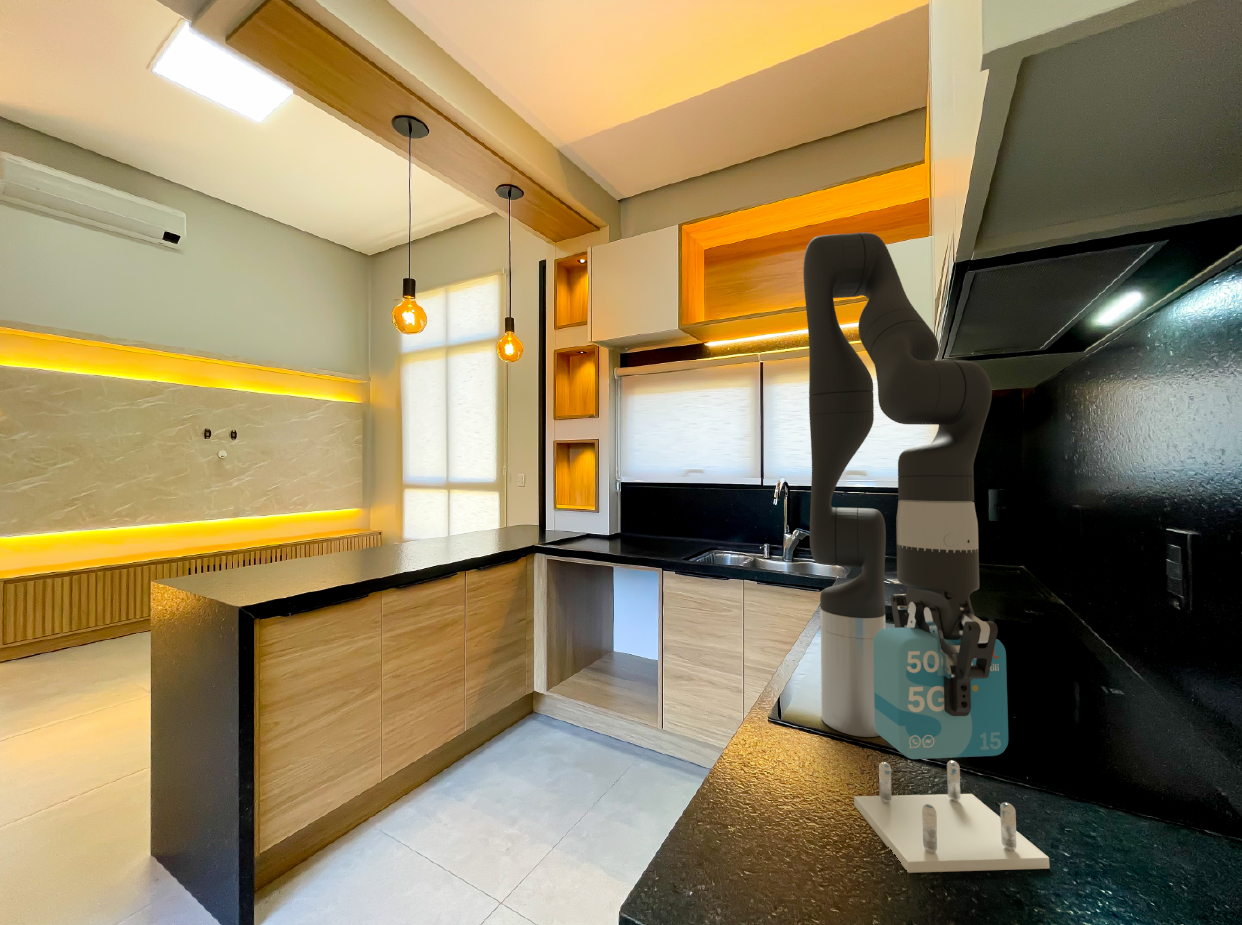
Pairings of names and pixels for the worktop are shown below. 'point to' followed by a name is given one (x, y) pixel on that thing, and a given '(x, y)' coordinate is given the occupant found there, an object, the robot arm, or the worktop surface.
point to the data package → (934, 699)
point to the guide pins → (954, 794)
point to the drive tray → (947, 834)
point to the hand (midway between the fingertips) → (939, 702)
